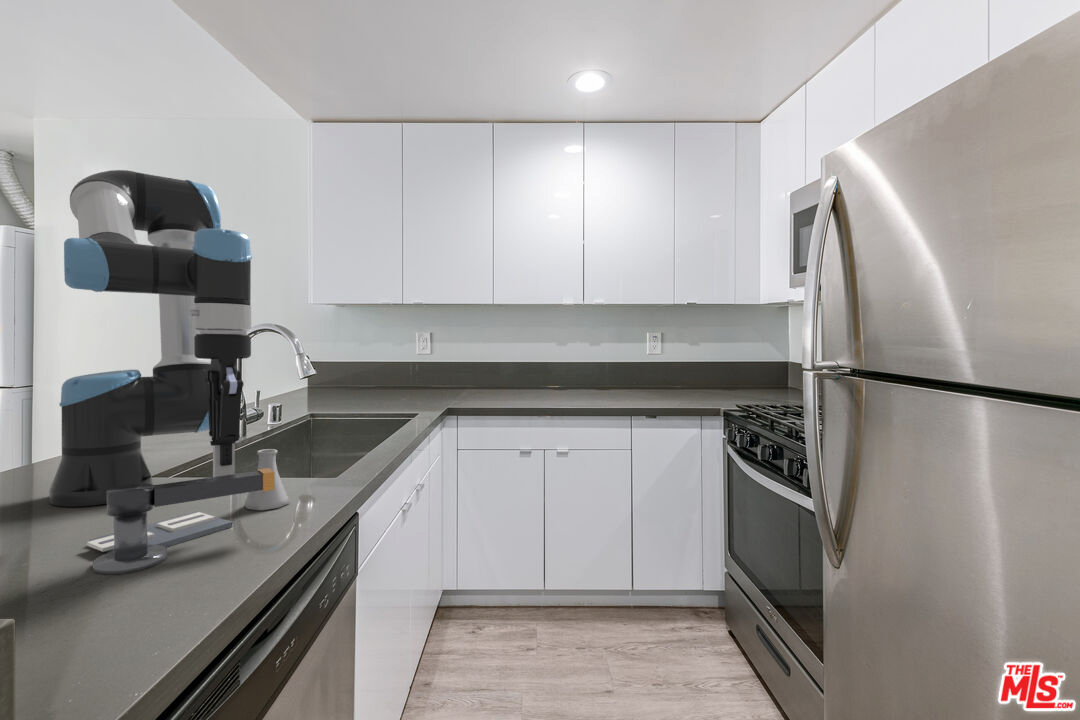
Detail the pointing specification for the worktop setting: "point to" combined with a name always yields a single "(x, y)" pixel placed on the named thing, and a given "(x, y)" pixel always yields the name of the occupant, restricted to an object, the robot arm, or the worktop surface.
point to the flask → (272, 497)
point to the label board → (171, 531)
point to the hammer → (183, 491)
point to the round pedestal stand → (130, 548)
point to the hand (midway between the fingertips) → (224, 484)
